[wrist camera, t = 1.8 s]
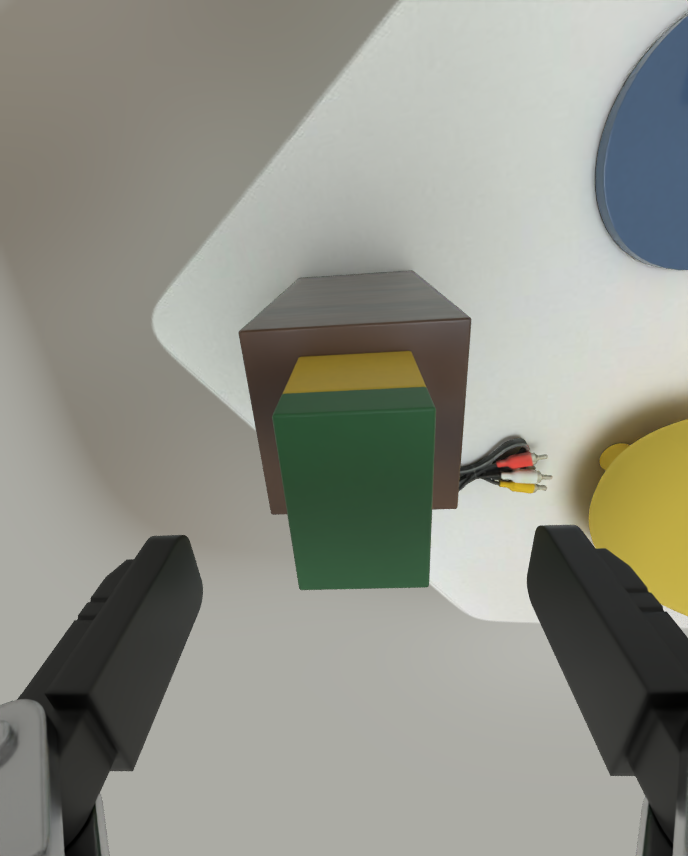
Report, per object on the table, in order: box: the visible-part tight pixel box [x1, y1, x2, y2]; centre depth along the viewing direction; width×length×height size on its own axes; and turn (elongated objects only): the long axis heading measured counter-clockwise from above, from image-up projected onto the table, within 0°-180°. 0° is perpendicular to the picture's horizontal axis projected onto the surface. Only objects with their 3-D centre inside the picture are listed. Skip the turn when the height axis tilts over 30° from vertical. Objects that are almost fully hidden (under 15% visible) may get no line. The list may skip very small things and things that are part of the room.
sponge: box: [272, 351, 436, 590], centre depth 13 cm, size 6×4×5 cm, turn 4°
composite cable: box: [459, 438, 552, 493], centre depth 34 cm, size 10×5×2 cm, turn 102°
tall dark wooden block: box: [239, 271, 471, 515], centre depth 23 cm, size 8×8×16 cm
